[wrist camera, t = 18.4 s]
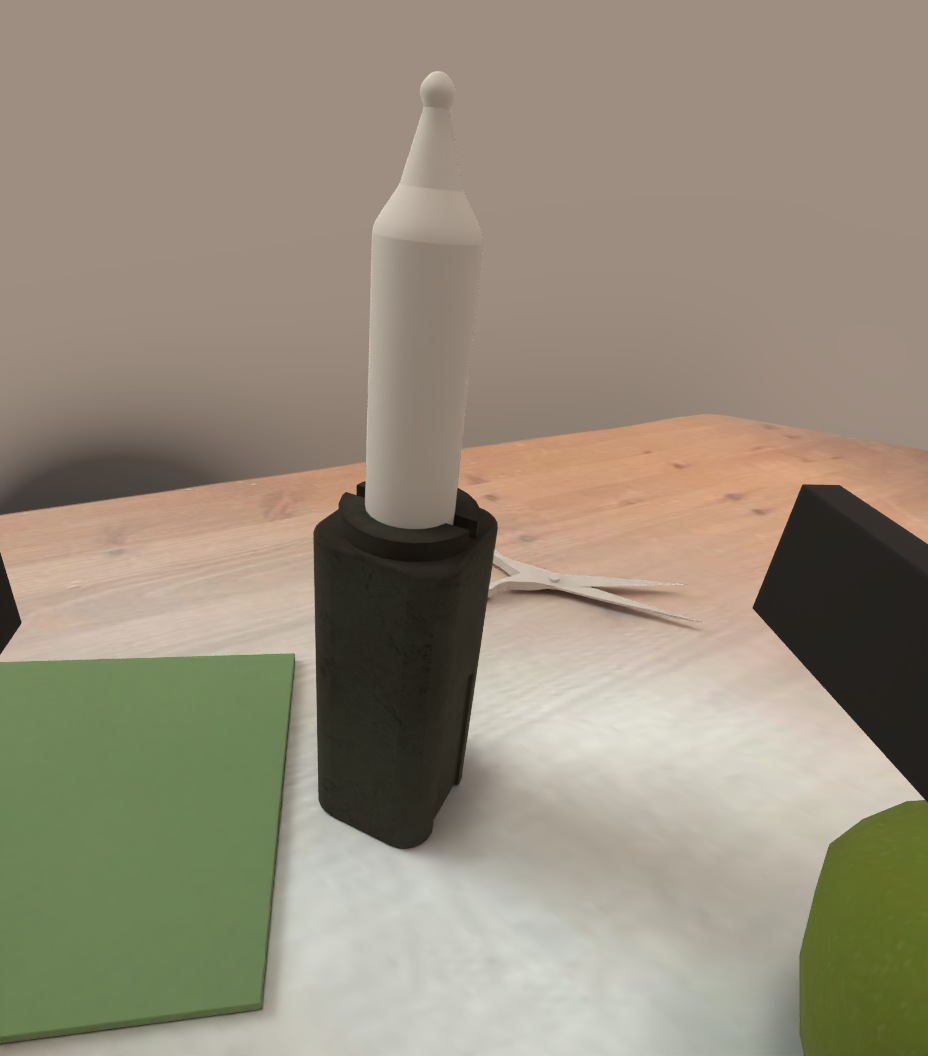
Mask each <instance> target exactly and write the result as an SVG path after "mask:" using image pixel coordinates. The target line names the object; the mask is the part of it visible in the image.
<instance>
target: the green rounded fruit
mask: <svg viewBox="0 0 928 1056" xmlns="http://www.w3.org/2000/svg"><path fill="white" fill-rule="evenodd" d="M800 1037H801V1042H802V1046H803V1051H804V1056H928V802H927V801H926V800H920V801H906V802H904V803H902V804H899V805H897V806H894V807H892V808H889V809H887V810H884V811H882V812H879V813H877V814H875V815H872V816H870V817H867V818H865V819H863V820H861V821H860V822H859V823H857V824H856V825H855V826H853V827H852V828H851V829H849V830H848V831H847V832H845V833H844V834H842V835H841V836H840V837H838V838H837V839H836V840H834V841H833V842H832V843H830V844H829V847H828V851H827V854H826V857H825V860H824V864H823V867H822V870H821V873H820V877H819V880H818V883H817V887H816V890H815V894H814V898H813V902H812V906H811V910H810V914H809V919H808V923H807V927H806V931H805V935H804V939H803V943H802V947H801V951H800Z"/></svg>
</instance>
